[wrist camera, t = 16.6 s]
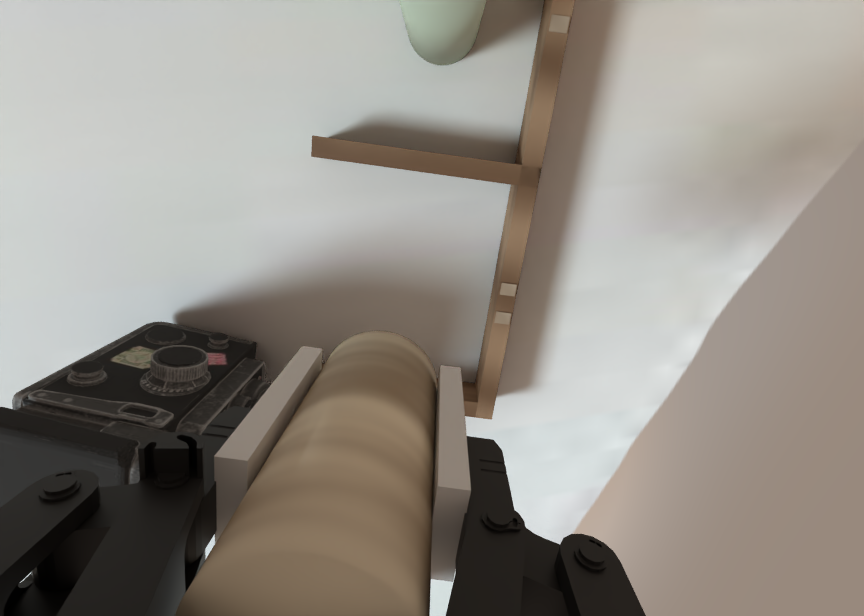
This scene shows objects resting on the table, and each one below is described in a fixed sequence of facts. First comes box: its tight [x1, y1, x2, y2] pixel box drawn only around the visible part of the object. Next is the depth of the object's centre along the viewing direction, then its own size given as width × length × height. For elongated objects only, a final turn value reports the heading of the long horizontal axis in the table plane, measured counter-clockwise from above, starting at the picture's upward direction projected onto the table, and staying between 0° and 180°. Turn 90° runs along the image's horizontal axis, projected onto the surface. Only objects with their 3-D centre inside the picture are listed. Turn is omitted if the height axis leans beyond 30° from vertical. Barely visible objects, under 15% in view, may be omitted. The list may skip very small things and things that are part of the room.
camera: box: [0, 322, 270, 507], centre depth 28 cm, size 10×10×15 cm
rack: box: [311, 0, 575, 419], centre depth 29 cm, size 34×14×3 cm, turn 172°
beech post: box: [175, 331, 437, 616], centre depth 12 cm, size 4×4×10 cm
